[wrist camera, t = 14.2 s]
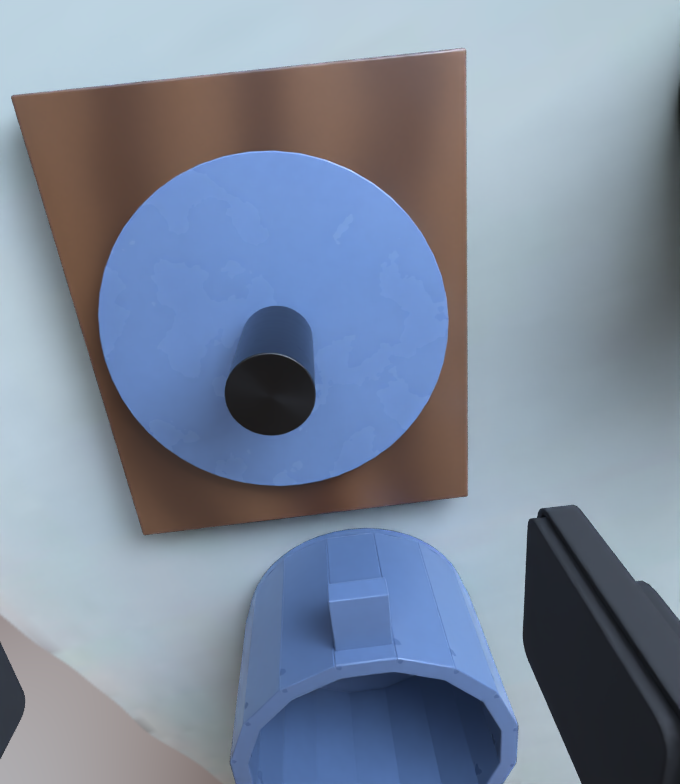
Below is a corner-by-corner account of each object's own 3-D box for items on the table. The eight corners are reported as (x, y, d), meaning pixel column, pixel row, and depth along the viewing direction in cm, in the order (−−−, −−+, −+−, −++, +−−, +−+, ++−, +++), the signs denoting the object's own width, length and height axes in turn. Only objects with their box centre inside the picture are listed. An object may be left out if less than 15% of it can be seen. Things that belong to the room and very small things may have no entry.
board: (452, 56, 21) (466, 47, 19) (457, 475, 29) (468, 497, 27) (34, 100, 21) (9, 95, 19) (152, 511, 29) (143, 536, 27)
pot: (465, 472, 29) (525, 591, 21) (466, 707, 36) (512, 859, 28) (221, 501, 29) (192, 632, 21) (273, 731, 36) (265, 892, 28)
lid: (437, 131, 20) (496, 123, 14) (445, 453, 26) (489, 547, 20) (63, 171, 20) (-42, 180, 14) (152, 488, 26) (106, 594, 20)
